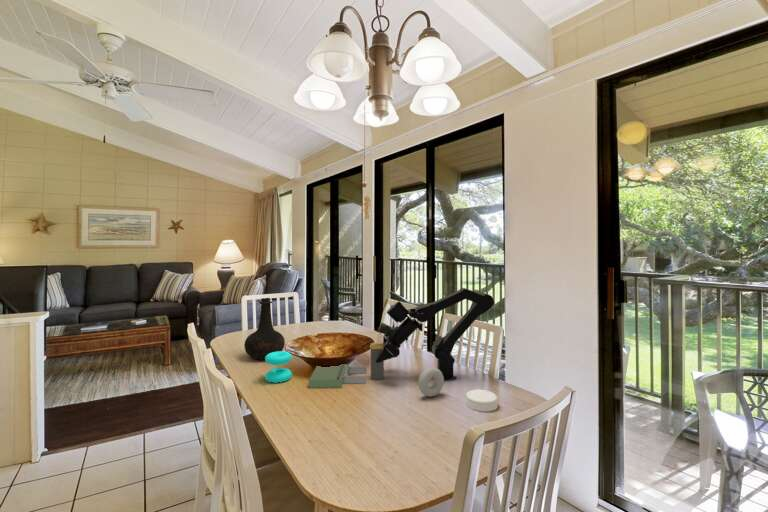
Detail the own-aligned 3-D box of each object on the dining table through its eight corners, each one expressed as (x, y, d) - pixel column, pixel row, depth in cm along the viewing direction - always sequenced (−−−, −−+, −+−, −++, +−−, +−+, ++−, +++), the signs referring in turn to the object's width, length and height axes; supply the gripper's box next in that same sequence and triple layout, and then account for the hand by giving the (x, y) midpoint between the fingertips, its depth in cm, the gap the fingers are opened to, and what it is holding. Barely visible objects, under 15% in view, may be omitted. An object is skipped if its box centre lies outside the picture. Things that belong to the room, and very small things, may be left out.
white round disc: (459, 402, 121) (460, 391, 121) (484, 397, 125) (484, 387, 124) (478, 414, 112) (478, 403, 112) (504, 409, 115) (504, 398, 115)
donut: (440, 391, 129) (440, 363, 129) (446, 395, 126) (446, 366, 126) (416, 397, 124) (416, 368, 124) (422, 401, 121) (422, 371, 121)
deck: (367, 369, 153) (367, 360, 153) (364, 387, 133) (364, 377, 133) (318, 369, 153) (318, 361, 153) (309, 387, 133) (309, 378, 133)
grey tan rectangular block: (383, 375, 146) (383, 343, 145) (383, 380, 140) (383, 346, 140) (370, 375, 146) (370, 343, 145) (370, 380, 140) (370, 346, 140)
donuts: (292, 356, 138) (264, 359, 135) (292, 382, 139) (265, 385, 136) (290, 349, 148) (264, 351, 145) (290, 373, 148) (265, 376, 145)
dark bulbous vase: (236, 358, 168) (236, 298, 167) (268, 349, 183) (268, 294, 182) (260, 365, 158) (260, 302, 157) (292, 355, 173) (292, 297, 172)
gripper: (389, 312, 152) (363, 338, 152) (390, 321, 133) (360, 350, 133) (408, 330, 152) (381, 356, 152) (412, 342, 133) (382, 372, 134)
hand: (376, 358), depth 143 cm, fingers open, 9 cm apart
